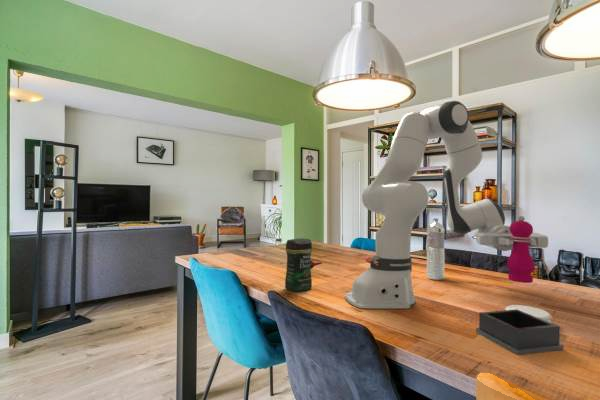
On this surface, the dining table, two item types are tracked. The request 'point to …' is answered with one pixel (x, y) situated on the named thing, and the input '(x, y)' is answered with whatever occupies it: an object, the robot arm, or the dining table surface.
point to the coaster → (531, 311)
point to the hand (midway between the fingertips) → (522, 242)
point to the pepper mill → (521, 252)
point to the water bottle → (435, 251)
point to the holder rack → (519, 331)
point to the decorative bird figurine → (313, 264)
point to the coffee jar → (298, 265)
